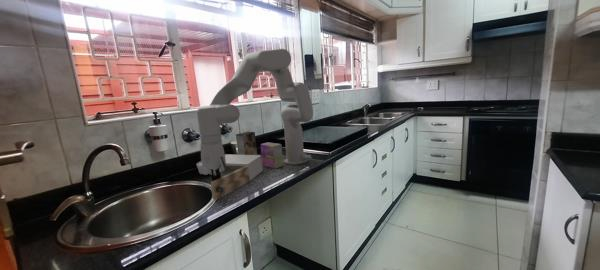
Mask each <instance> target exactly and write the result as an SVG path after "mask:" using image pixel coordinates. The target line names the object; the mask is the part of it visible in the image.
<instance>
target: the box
mask: <svg viewBox="0 0 600 270" xmlns="http://www.w3.org/2000/svg"><path fill="white" fill-rule="evenodd" d="M260 151H261V156H262V166H263V167H268V168H273V169H278V168H280V167H283V166H284V159H283V147H282V144H281V143H275V142H269V141H268V142H264V143H260Z"/></svg>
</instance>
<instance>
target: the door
mask: <svg viewBox="0 0 600 270" xmlns="http://www.w3.org/2000/svg"><path fill="white" fill-rule="evenodd" d="M250 181H251V180H250V178H249V169H248V166H245V167H243V168H240V169H238V170H236V171H234V172H232V173H230V174H227V175H225V176H223V177H221V178H219V179H217V180H215V181H212V180H211V181H210V186H211V196H212V200H213V201H216V200H218V199H220V198H222V197H224V196H225V195H227V194H229V193H231V192H233V191H235V190H237V189H238V188H240V187H242V186H244V185H245V184H247V183H249V182H250Z"/></svg>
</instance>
